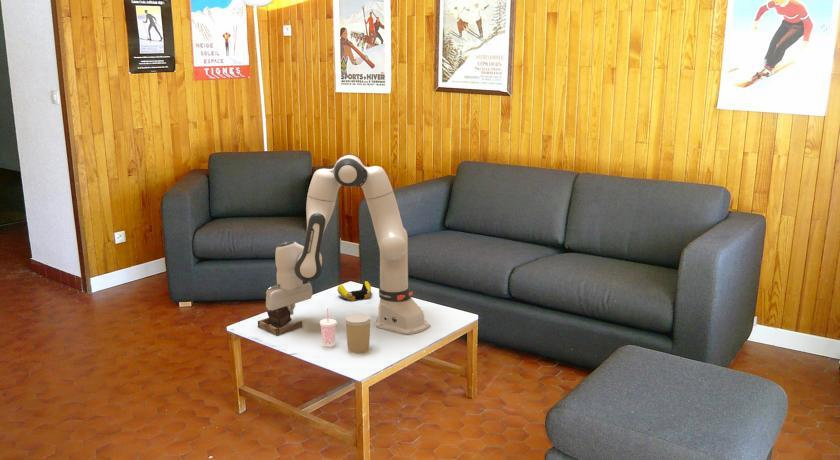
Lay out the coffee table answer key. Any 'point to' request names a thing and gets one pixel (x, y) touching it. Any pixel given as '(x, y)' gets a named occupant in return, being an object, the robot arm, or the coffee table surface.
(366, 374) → the coffee table surface
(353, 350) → the coffee cup
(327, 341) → the beverage cup
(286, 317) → the box
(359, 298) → the gaming controller
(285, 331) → the frame
